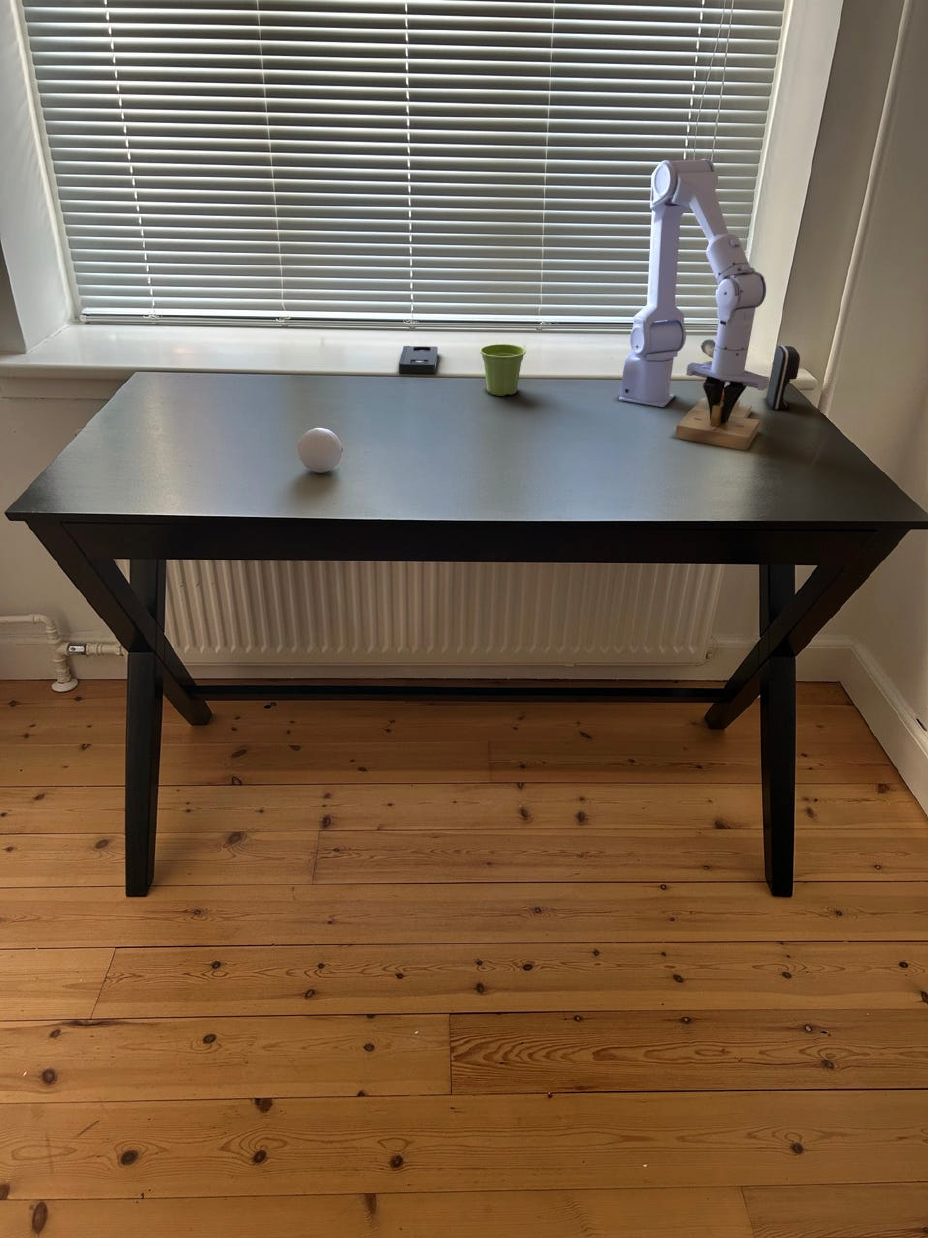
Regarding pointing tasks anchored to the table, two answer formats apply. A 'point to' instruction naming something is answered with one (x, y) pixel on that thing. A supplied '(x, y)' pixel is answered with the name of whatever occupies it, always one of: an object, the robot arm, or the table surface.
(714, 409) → the thumb turn
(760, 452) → the table surface
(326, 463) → the white ball
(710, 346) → the eagle figurine
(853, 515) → the table surface
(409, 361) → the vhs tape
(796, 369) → the battery charger
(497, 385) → the plant pot
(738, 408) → the bell block
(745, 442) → the plate
